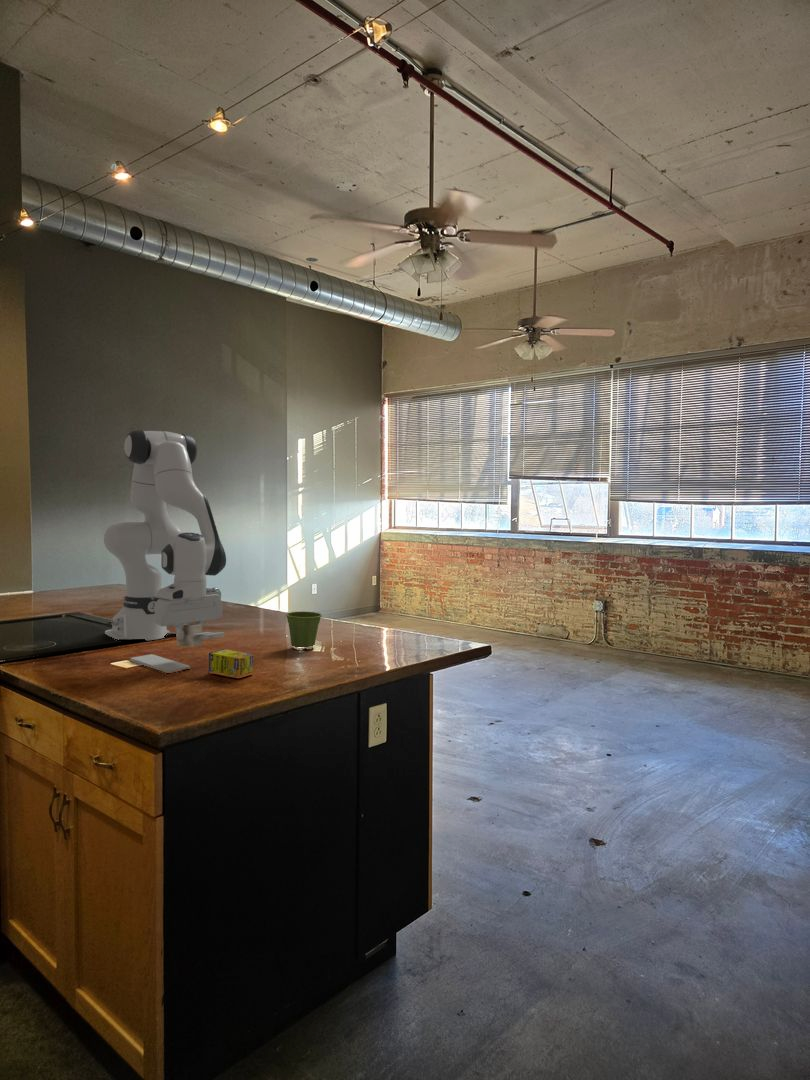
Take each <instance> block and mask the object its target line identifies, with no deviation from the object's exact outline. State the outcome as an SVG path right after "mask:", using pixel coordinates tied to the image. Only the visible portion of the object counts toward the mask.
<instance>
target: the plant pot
mask: <svg viewBox="0 0 810 1080" xmlns="http://www.w3.org/2000/svg"><path fill="white" fill-rule="evenodd" d="M284 615H285V617H286V619H287V623H288V628H289V629H288V630H289V636H290V646H291V645H292V646H295V647H309V646H313V645H316V640H317V634H318V629H319V625H320V623H321V618H322V617H323V613H320V612H314V611H290V612H286V613H285V614H284Z"/></svg>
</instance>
